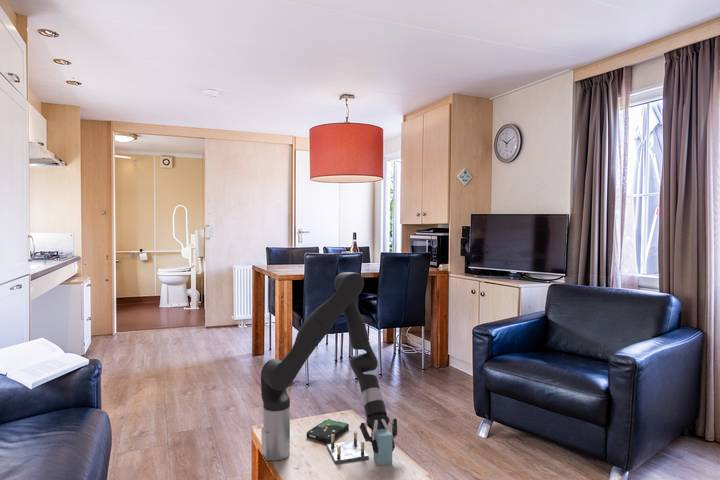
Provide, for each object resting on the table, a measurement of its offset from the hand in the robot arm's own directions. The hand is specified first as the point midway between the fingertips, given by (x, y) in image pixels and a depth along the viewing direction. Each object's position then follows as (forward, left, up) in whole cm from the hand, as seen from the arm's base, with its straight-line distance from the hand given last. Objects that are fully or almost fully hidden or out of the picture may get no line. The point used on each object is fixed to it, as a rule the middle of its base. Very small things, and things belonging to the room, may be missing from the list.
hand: (384, 451), depth 155 cm
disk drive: (-8, +29, -5) cm, 31 cm away
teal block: (0, +2, -4) cm, 5 cm away
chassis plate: (-8, +12, -4) cm, 15 cm away
